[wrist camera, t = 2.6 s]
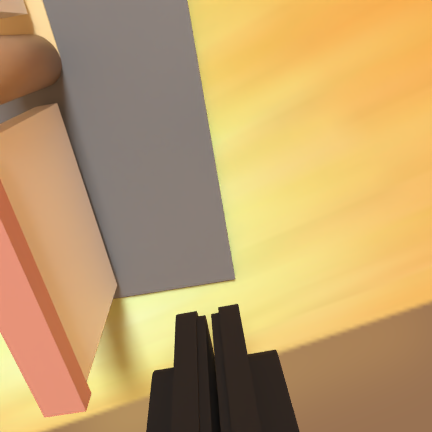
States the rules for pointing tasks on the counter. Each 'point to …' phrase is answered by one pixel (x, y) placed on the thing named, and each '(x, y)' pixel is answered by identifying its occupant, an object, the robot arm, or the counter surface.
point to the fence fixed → (25, 59)
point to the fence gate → (50, 262)
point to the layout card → (136, 135)
